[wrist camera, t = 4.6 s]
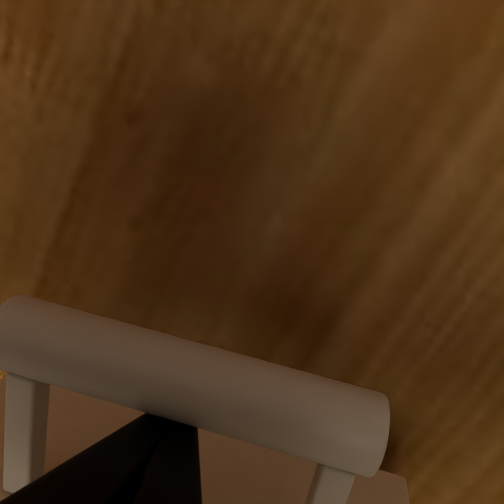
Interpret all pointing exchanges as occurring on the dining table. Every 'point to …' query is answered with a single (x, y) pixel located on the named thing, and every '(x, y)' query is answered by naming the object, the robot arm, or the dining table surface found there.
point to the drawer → (185, 409)
